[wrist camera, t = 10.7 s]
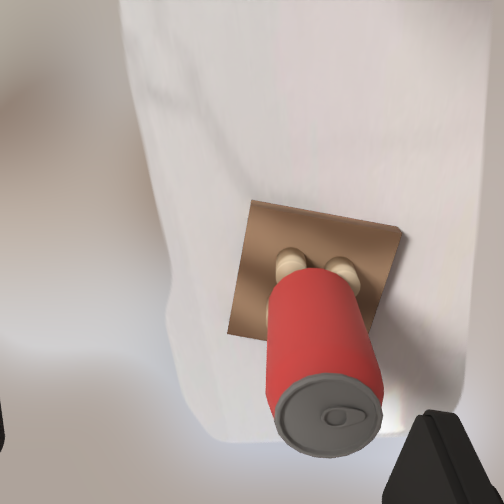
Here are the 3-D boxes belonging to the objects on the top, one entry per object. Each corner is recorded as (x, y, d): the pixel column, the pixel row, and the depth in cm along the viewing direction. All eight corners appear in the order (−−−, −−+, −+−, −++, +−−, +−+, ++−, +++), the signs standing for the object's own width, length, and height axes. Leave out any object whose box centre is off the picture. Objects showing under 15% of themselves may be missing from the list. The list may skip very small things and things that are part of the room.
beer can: (356, 335, 35) (393, 464, 23) (272, 342, 35) (271, 469, 24) (353, 260, 32) (393, 363, 21) (263, 268, 33) (257, 372, 22)
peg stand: (251, 199, 35) (248, 218, 31) (397, 226, 35) (413, 248, 31) (228, 324, 40) (223, 354, 36) (357, 347, 40) (366, 379, 36)
